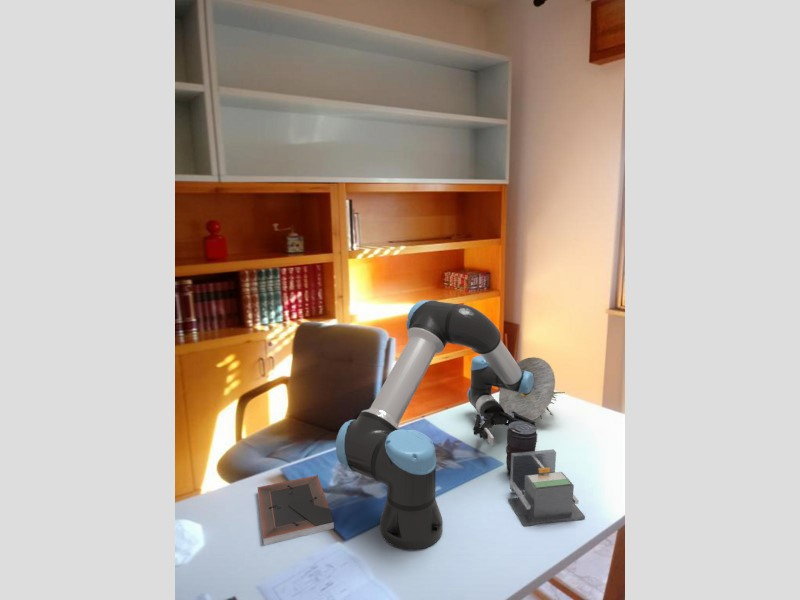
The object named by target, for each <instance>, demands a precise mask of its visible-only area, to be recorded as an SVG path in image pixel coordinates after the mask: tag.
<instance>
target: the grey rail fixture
mask: <svg viewBox="0 0 800 600" xmlns="http://www.w3.org/2000/svg"><path fill="white" fill-rule="evenodd" d="M556 459H557V451H555V449H545V450H543V449H541V450H535V451H530V452H520V453H511V475H510V476H509V478H510V480H509V489H510V491H511V492H512V493H515V494H516V495H517V498H518V497H519V498H520V500H521V501H522V503H523V504H524V506H525V507H526V509H530V507H531V506H530V504H529V503H528V501H527V500H526V498H525V497H524V493H523V492H524V487H525V476H526V475H536V474H545V473H555V472H556V463H557V461H556ZM522 491H523V492H522ZM573 502H574V504H575V505H577V504H579V502H580V501H579V499H578V497H576V495H575V494H574V493H573Z"/></svg>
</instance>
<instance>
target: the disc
mask: <svg viewBox="0 0 800 600" xmlns="http://www.w3.org/2000/svg"><path fill="white" fill-rule="evenodd" d="M516 363H517V364H518V366H519V367H520V369H521V370H523V371H528V372H531V373H532V374H533V377H534V382H533V387H532V389H531V391H530V392H529V393H527V394H525V393H518V392H515V391H511V390H507V389H503V388H499V391H498V392H499V394H498V401H499V402H498V403H499V404H500V405H501V407H502V408H503V410H504V412H505V413H507V414H512V412H513V411H514V412H516V413H517V414H519V415H521V416H523V417H526V418H528V419H530V420H532V421H534V420H535V419H537V418H539V417H540V419H541V420H542V419H543V418H542V414H543V413H546V410H547V412H549V415H551V416H553V417H554V414H553V413H552V412H551V410H550V409H549V406H550V404H552V405H554V404H555V403H554V402H553V401H558V400H557V397H558V395H557V394H565V393H566V392H565V391H562V392H561V391H555V387H556V378H555V373H554V370H553V368H552V366H551V365H550V364H549V363H548V362H547V361H546V360H544V359H543V358H540V357H536V356H535V357H527V358H524V359H521V360H519V361H518V362H516ZM555 396H556V397H555ZM552 400H553V401H552Z"/></svg>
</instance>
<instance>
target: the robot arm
mask: <svg viewBox="0 0 800 600" xmlns="http://www.w3.org/2000/svg"><path fill="white" fill-rule="evenodd" d="M406 329H407V333H406V334H407V337H408V340H407V342H406V344H405V346H404V348H403V349H402V351H401V353H400V355H399V356H398V358H397V360H396V362H395V363H394V365H393V367H392V368H391V370H390V372H389V374H388V375H387V377H386V380H385V381H384V383H383V385H382V386H381V388H380V390H379V392H378V393H377V395H376V397H375V399H374V401H372V403H371V406H370V407H369V408H368V409H363V410H361V412H360V413H359V415H358V417H357V418H356V419H350V420H348V421H345V422H344V423H343V424H342V425H341V427H340V429H339V430H338V434H337V435H336V438H335V439H336V440H335V455H336V457H337V460H338V462H339V463H340V465H342V466H343V467H345V468H346V469H349V470H350V471H351V472H353V473H359V475H360V474H361V475H363V476H365V477H368V478H370V479H372V480H374V481H376V482H379V483H381V484H384V485H385V486H386V501H385V503H384V505H383V506H384V507H383V510H382V512H381V515H380V520H379V531H380V534H381V536H382V538H383V540H385V542H386V543H388V544H389V545H391V546H393V547H395V548H399V549H401V550H408V551H413V550H414V551H416V550H422V549H426V548H428V547H430V546H433V545H434V544H435V543H436V542H437V541H439V540H440V538H441V536H442V534H443V530H444V529H443V523H444V522H443V516H442V514H441V511H440V508H439V505H438V502H437V499H436V478H437V477H436V474H437V473H436V472H437V469H436V468H437V467H436V465H437V457H436V456H437V455H436V448H435V444H434V442H433V440H432V439H431V438H430V437H429V436H428V435H427V434H425V433H423V432H421V431H419V430H415V429H412V428H411V429H408V430H407V429H406V428H402V429H401V428H400V427H399V424H400V423H401V420H402V419H403V416H404V415H405V413H406V411H407V409H408V407H409V405H410V403H411V402H412V399H413V397H414V395H416V394H415V393H416V392H417V390H418V388H419V386H420V384H421V382H422V380H423V378H424V376H425V374H426V373H427V370H428V369H429V366H430V364H431V363H432V361H433V359H434V357H435V355H436V354H440V353H442V352H443V351H444V350H445V347H446V346H447V345H448V344H451V345H459V346H462V347H466V348H470V349H471V350H472V351H473V352H475V353H476V354H478V355H476V356H474V357H472V359H471V365H470V386H469V388H468V390H467V393H466V395H467V399H468V400H469V403H470V405H472V407H473V408H474V409H475V410H476V414H475V422H474V424H473V425H474V426H473V435H474V436H478V434H479V438H480V439H483V440H486V441H487V442H488V443H489V445H490V446H491V447H494V446H495V437H494V435H493V434H492V433H491V432H490V429H491V428H492V427H493V426H507V427H509V424H510V423H512V422H516V421H520V422H526V423H529V424H532V425H533V426H535V427H536V421H535V420H530V419H528V418H526V417H523V416H521V415H519V414H517V413H516V412H514V411H513V412H512V414H507V413H505V412H504V410H503V408H502V407H501V405H500V403H499V402H498V401H497V400H496V399H495V398H494V396H493V395H492V390H493V387H495V388H499V389H500V388H503V389H507V390H511V391H515V392H518V393H525V394H527V393H529V392H530V391H531V389H532V387H533V382H534V377H533V374H532V373H531V372H528V371H523V370H521V369H520V367H519V366H518V364H517V363H518V362H517V361H516V360H515V358H514V357H513V355H512V354H511V352H510V351H509V349H508V348H507V347H506V345H505V344H504V342H503V341H502V334H501V332H500V329H498V327H497V326H496V325H495V323H494V322H493V321H492V320H491V319H490V318H489V317H488V316H487V315H486V314H484V313H483V312H481V311H480V310H478V309H477V308H474V307H472V306H470V305H468V304H459V303H453V302H451V303H450V302H444V301H438V300H434V299H430V300H428V299H427V300H425V299H423V300H420V301H418V302H416V303H415V304H414V305H413V306H412V307H411V308H410V310H409V312H408V314H407V320H406ZM482 422H483V423H482ZM537 442H538V438H537V439H536V443H537Z"/></svg>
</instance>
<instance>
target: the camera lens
mask: <svg viewBox="0 0 800 600" xmlns="http://www.w3.org/2000/svg"><path fill="white" fill-rule="evenodd" d="M536 439H537V440H538V432H537V427H536V425H535V426H533V425H532V424H529V423H526V422H520V421H516V422H512V423H510V424H509V426H507V434H506V447H505V454H506V460H505V461H506V462H505V463H506V470H507V474H508V477H510V475H511V453H520V452H530V451H536V448H537V447H536V445H537V442H536Z"/></svg>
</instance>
